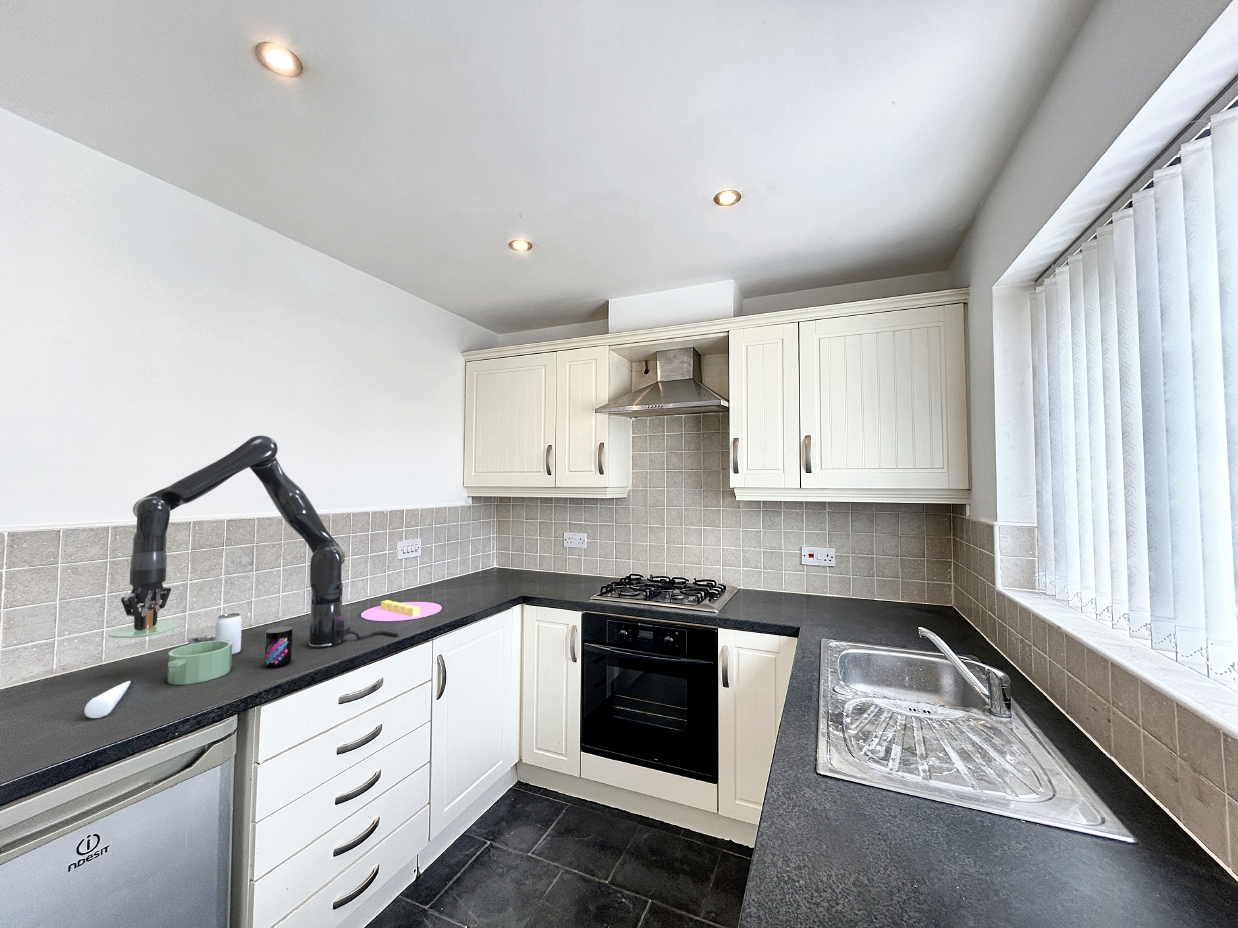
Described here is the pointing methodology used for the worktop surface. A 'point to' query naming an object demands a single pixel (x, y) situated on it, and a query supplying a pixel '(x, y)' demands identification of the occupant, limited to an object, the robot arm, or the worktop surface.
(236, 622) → the can
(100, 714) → the unicorn horn
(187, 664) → the pan
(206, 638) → the egg carton
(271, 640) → the supplement container
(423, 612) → the platter
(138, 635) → the pan lid
